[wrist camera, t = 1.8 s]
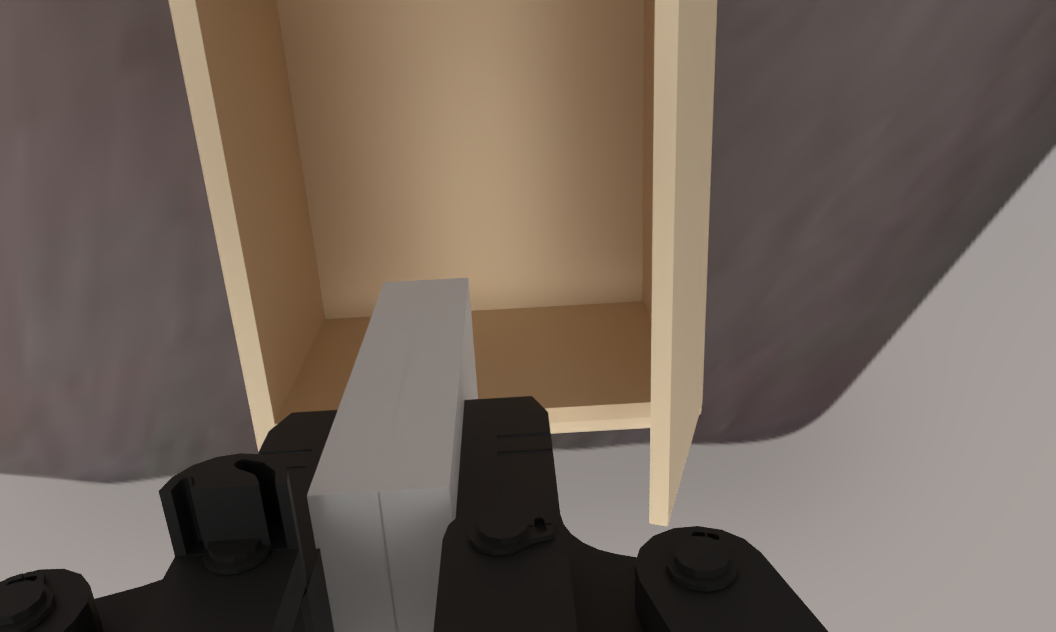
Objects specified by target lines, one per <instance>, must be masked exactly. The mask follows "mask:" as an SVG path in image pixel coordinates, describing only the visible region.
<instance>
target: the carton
mask: <svg viewBox="0 0 1056 632" xmlns="http://www.w3.org/2000/svg"><path fill="white" fill-rule="evenodd" d="M195 3H196V8H197V13H198V19H199V24H200V29H201V35H202V40H203V45H204V51H205V56H206V61H207V67H208V72H209V77H210V83H211V88H212V93H213V99H214V104H215V109H216V114H217V120H218V125H219V130H220V136H221V141H222V146H223V152H224V157H225V162H226V168H227V173H228V178H229V184H230V189H231V194H232V200H233V205H234V210H235V215H236V221H237V226H238V231H239V237H240V242H241V247H242V253H243V258H244V263H245V269H246V274H247V279H248V285H249V290H250V295H251V301H252V306H253V311H254V317H255V322H256V327H257V332H258V338H259V343H260V348H261V354H262V359H263V364H264V370H265V375H266V380H267V386H268V391H269V396H270V402H271V407H272V412H273V418H274V423H275V426H276V425H277V424H278V423H280V422H281V421H282V420H283V419H284V418H286V417H287V416H288V415H289V414H291V413H292V412H309V411H326V410H338V408H339V405H340V402H341V400H342V397H343V394H344V391H345V389H346V386H347V383H348V380H349V378H350V375H351V372H352V369H353V367H354V364H355V361H356V358H357V355H358V353H359V350H360V347H361V344H362V342H363V339H364V336H365V333H366V331H367V328H368V325H369V322H370V319H371V317H372V314H373V311H374V308H375V306H376V303H377V300H378V297H379V295H380V292H381V289H382V286H383V284H384V282H400V281H418V280H436V279H453V278H469V291H470V303H471V316H472V329H473V341H474V354H475V367H476V379H477V392H478V399H488V398H505V397H522V396H533V397H534V398H535V399H536V400H537V401H538V402H539V403H540V404H541V405H542V406H543V407H544V408H545V409H546V411H547V412H548V415H549V424H550V432H551V433H569V432H586V431H603V430H620V429H637V428H650V422H651V325H652V229H653V132H654V36H655V0H195ZM699 414H701V409H700V413H699Z"/></svg>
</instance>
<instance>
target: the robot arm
mask: <svg viewBox="0 0 1056 632" xmlns="http://www.w3.org/2000/svg"><path fill="white" fill-rule="evenodd" d="M159 494H160V498H161V501H162V506H163V510H164V514H165V518H166V522H167V526H168V530H169V534H170V538H171V542H172V546H173V550H174V554H175V558H174V560H173V562H172V563H171V565H170V567H169V569H168V571H167V573H166V574H165V576H164V578H163V579H162V580H159V581H156V582H154V583H150V584H148V585H144V586H142V587H138V588H134V589H130V590H126V591H123V592H119V593H115V594H112V595H108V596H104V597H101V598H97V599H94V597H93V594H92V591H91V588H90V585H89V584H88V582H87V581H86V580H85V578H84V577H83V576H82V575H81V574H78V573H75V572H72V571H69V570H66V569H46V570H37V571H33V572H27V573H25V574H23V573H22V574H19V575H16V576H13V577H10V578H7V579H6V580H4V581H2V582H0V632H828V631H827V630H826V629H825V627H824V626H823V625H822V624H821V622H819V620H818V619H817V618H816V617H815V616H814V614H813V613H812V612H811V611H810V610H809V608H808V607H807V606H806V605H805V604H804V603H803V601H802V600H801V599H800V598H799V597H798V595H797V594H796V593H795V592H794V591H793V590H792V589H791V587H790V586H789V585H788V584H787V583H786V582H785V580H784V579H783V578H782V577H781V576H780V574H779V573H778V572H777V571H776V570H775V568H774V567H773V566H772V565H771V564H770V563H769V561H768V560H767V559H766V558H765V557H764V556H763V555H762V553H761V552H760V551H758V550H757V549H756V548H755V547H753V546H752V545H751V544H750V543H748V542H747V541H746V540H745V539H743V538H740V537H738V536H735V535H733V534H730V533H728V532H725V531H723V530H719V529H712V528H706V527H699V526H695V527H684V528H673V529H671V530H668V531H665V532H663V533H660V534H657V535H655V536H653V537H652V538H651V539H650V540H649V541H647V542H646V543H645V544H644V545H643V546H642V547H641V548H640V550H639V553H638V556H637V558H636V557H630V556H625V555H619V554H614V553H610V552H606V551H602V550H598V549H596V548H594V547H591V546H589V545H587V544H585V543H583V542H581V541H580V540H578V539H577V538H576V537H575V536H573V535H572V534H571V533H570V532H569V531H568V529H567V528H566V527H565V525H564V524H563V521H562V518H561V515H560V509H559V501H558V492H557V483H556V475H555V467H554V458H553V450H552V441H551V432H550V424H549V415H548V412H547V411H546V409H545V408H544V407H543V406H542V405H541V404H540V403H539V402H538V401H537V400H536V399H535V398H534V397H533V396H522V397H505V398H488V399H478V392H477V379H476V367H475V354H474V341H473V329H472V316H471V303H470V291H469V278H453V279H436V280H418V281H400V282H384V284H383V286H382V289H381V292H380V295H379V297H378V300H377V303H376V306H375V308H374V311H373V314H372V317H371V319H370V322H369V325H368V328H367V331H366V333H365V336H364V339H363V342H362V344H361V347H360V350H359V353H358V355H357V358H356V361H355V364H354V367H353V369H352V372H351V375H350V378H349V380H348V383H347V386H346V389H345V391H344V394H343V397H342V400H341V402H340V405H339V408H338V410H326V411H309V412H292V413H291V414H289V415H288V416H287V417H286V418H284V419H283V420H282V421H281V422H280V423H278V424H277V425H276V426H275V427H273V428H272V429H271V430H270V431H269V432H268V434H267V436H266V438H265V440H264V442H263V444H262V446H261V448H260V450H259V454H242V453H240V454H234V455H228V456H221V457H216V458H213V459H210V460H207V461H204V462H201V463H198V464H195V465H193V466H191V467H189V468H187V469H186V470H184V471H182V472H181V473H179V474H177V475H175V476H174V477H172V478H171V479H170V480H169V481H168V482H167V483H166V484H165V485H164V486H163V488H162V489H160V490H159Z"/></svg>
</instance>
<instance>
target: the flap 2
mask: <svg viewBox="0 0 1056 632" xmlns="http://www.w3.org/2000/svg"><path fill="white" fill-rule="evenodd" d="M716 21H717V0H655V36H654V132H653V229H652V325H651V422H650V518H649V519H650V520H649V521H650V522H649V523H650V524H656V525H662V526H668V525H669V521H670V517H671V514H672V510H673V507H674V503H675V499H676V496H677V492H678V489H679V485H680V481H681V478H682V474H683V470H684V467H685V463H686V460H687V456H688V452H689V449H690V445H691V442H692V438H693V434H694V431H695V427H696V424H697V420H698V416H699V413H700V409H701V406H702V396H703V369H704V343H705V316H706V289H707V262H708V235H709V209H710V182H711V155H712V128H713V101H714V75H715V48H716Z"/></svg>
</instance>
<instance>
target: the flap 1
mask: <svg viewBox="0 0 1056 632" xmlns="http://www.w3.org/2000/svg"><path fill="white" fill-rule="evenodd" d="M168 1H169V6H170V11H171V16H172V21H173V26H174V31H175V36H176V41H177V46H178V51H179V56H180V61H181V66H182V71H183V76H184V81H185V86H186V91H187V96H188V101H189V106H190V111H191V116H192V121H193V126H194V131H195V136H196V141H197V146H198V151H199V156H200V161H201V166H202V171H203V176H204V181H205V186H206V191H207V196H208V201H209V206H210V211H211V216H212V221H213V226H214V231H215V237H216V242H217V247H218V252H219V257H220V262H221V267H222V272H223V277H224V282H225V287H226V292H227V297H228V302H229V307H230V312H231V317H232V322H233V327H234V332H235V337H236V342H237V347H238V352H239V357H240V362H241V367H242V372H243V377H244V382H245V387H246V392H247V397H248V402H249V407H250V412H251V417H252V422H253V427H254V432H255V437H256V442H257V447H258V452H259V450H260V448H261V446H262V444H263V442H264V440H265V438H266V436H267V434H268V432H269V431H270V430H271V429H272V428H273V427H275V423H274V418H273V412H272V407H271V402H270V396H269V391H268V386H267V380H266V375H265V370H264V364H263V359H262V354H261V348H260V343H259V338H258V332H257V327H256V322H255V317H254V311H253V306H252V301H251V295H250V290H249V285H248V279H247V274H246V269H245V263H244V258H243V253H242V247H241V242H240V237H239V231H238V226H237V221H236V215H235V210H234V205H233V200H232V194H231V189H230V184H229V178H228V173H227V168H226V162H225V157H224V152H223V146H222V141H221V136H220V130H219V125H218V120H217V114H216V109H215V104H214V99H213V93H212V88H211V83H210V77H209V72H208V67H207V61H206V56H205V51H204V45H203V40H202V35H201V29H200V24H199V19H198V13H197V8H196V3H195V0H168Z"/></svg>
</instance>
